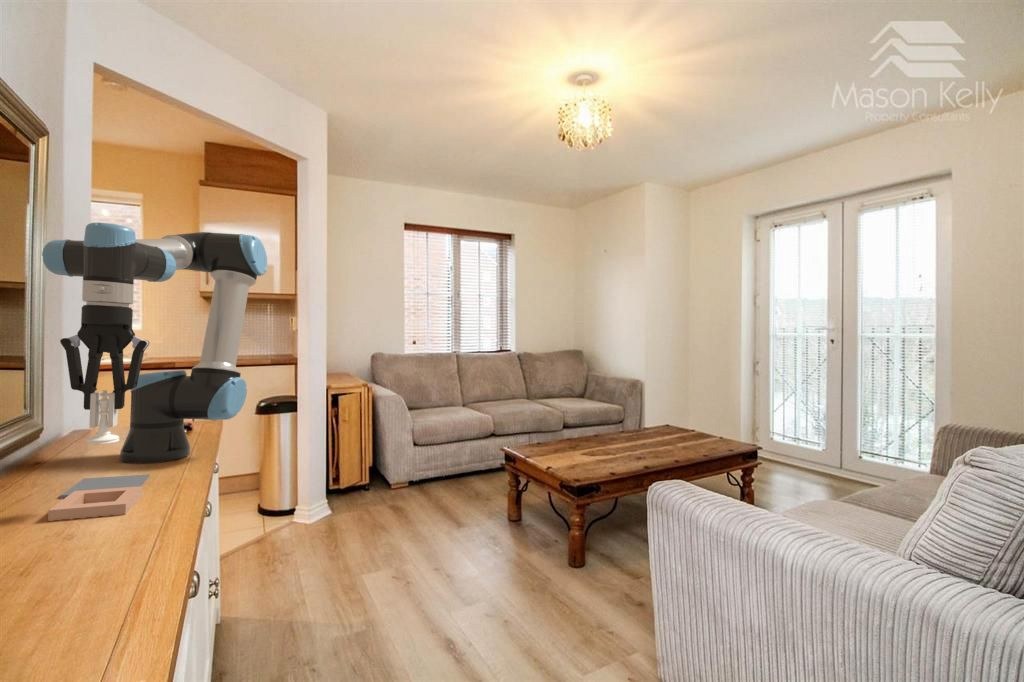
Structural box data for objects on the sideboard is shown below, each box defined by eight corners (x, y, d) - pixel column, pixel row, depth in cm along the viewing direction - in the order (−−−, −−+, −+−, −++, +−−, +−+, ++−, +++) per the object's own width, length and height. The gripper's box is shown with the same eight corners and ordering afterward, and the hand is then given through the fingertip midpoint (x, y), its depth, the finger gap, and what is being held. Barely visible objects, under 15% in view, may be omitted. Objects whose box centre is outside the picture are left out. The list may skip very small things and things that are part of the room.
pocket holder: (74, 501, 94) (74, 491, 94) (142, 495, 99) (142, 486, 99) (48, 521, 84) (48, 510, 84) (125, 514, 89) (125, 503, 89)
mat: (83, 481, 106) (83, 478, 106) (149, 476, 111) (149, 474, 111) (59, 498, 95) (60, 495, 95) (134, 492, 100) (134, 490, 100)
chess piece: (99, 445, 89) (101, 392, 89) (79, 443, 90) (80, 390, 90) (126, 440, 94) (127, 389, 93) (106, 437, 95) (107, 387, 94)
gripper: (47, 301, 85) (42, 431, 85) (150, 307, 91) (146, 428, 91) (65, 302, 92) (61, 423, 92) (160, 308, 98) (156, 421, 98)
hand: (103, 425), depth 92 cm, fingers closed on chess piece, 2 cm apart
